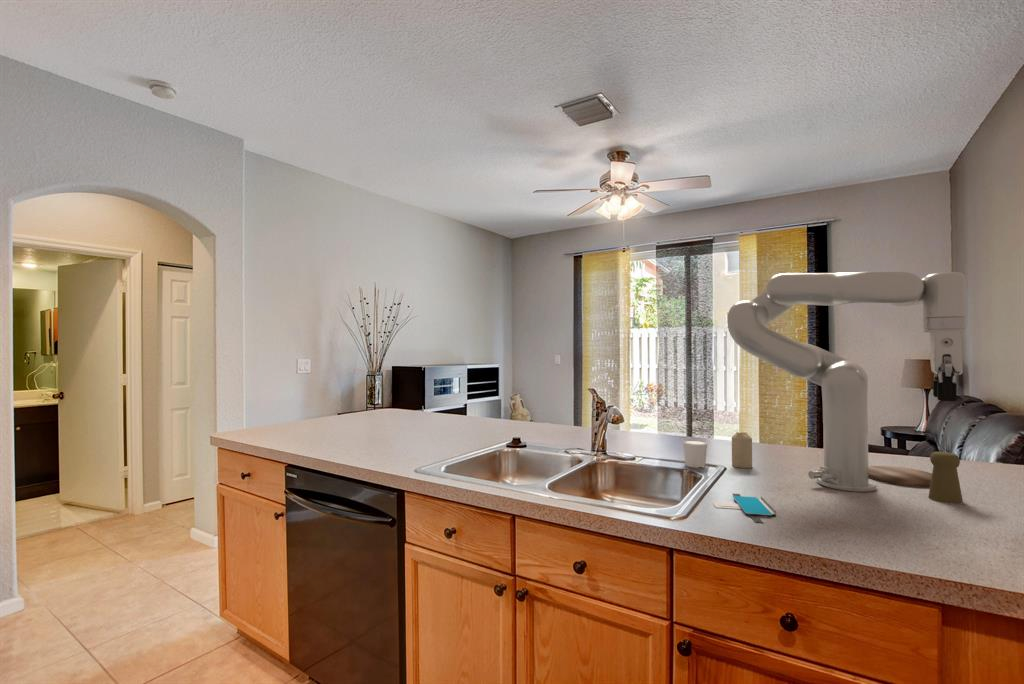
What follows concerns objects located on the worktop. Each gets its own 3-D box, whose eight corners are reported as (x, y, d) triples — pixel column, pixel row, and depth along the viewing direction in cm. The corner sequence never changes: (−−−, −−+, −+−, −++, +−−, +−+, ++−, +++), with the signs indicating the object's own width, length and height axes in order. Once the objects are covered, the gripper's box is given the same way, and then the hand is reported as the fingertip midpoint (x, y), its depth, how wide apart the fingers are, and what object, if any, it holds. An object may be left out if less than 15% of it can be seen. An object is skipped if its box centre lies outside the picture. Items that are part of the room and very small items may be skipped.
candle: (743, 469, 143) (743, 434, 143) (727, 465, 148) (727, 432, 148) (756, 467, 146) (756, 433, 146) (740, 463, 151) (739, 430, 151)
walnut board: (906, 488, 123) (906, 482, 123) (850, 473, 138) (849, 467, 138) (956, 484, 126) (956, 479, 126) (895, 469, 142) (895, 464, 142)
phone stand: (706, 494, 120) (706, 487, 120) (758, 497, 118) (758, 490, 118) (724, 523, 101) (724, 515, 101) (787, 527, 98) (787, 519, 98)
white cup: (709, 468, 144) (709, 444, 144) (685, 467, 145) (684, 444, 146) (705, 463, 151) (705, 440, 151) (681, 462, 152) (681, 439, 152)
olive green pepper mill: (954, 497, 116) (954, 450, 116) (968, 505, 110) (968, 455, 110) (923, 494, 118) (922, 448, 118) (935, 502, 112) (935, 454, 112)
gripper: (971, 324, 106) (972, 403, 106) (960, 326, 120) (960, 396, 120) (926, 324, 110) (926, 401, 110) (920, 327, 124) (920, 395, 124)
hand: (944, 398), depth 115 cm, fingers open, 9 cm apart
